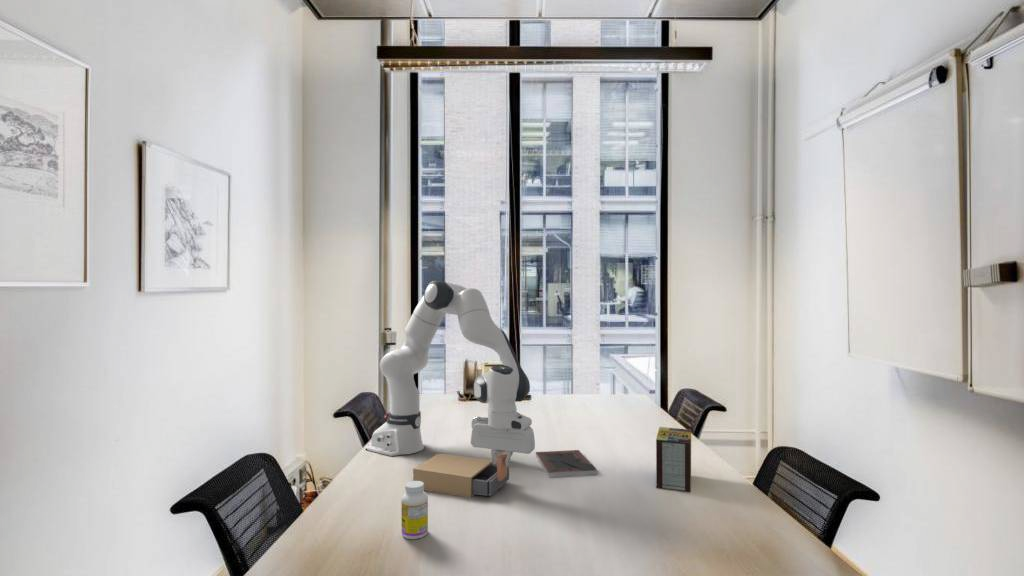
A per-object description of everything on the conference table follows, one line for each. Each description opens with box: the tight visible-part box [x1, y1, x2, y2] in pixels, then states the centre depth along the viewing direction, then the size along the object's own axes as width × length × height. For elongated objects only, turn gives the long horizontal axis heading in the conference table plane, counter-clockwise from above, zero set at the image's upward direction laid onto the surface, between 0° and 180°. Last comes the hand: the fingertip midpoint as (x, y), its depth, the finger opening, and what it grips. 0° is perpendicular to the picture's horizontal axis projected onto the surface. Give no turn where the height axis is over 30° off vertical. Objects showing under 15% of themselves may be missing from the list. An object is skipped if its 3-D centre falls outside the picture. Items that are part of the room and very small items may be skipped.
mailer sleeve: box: [412, 453, 494, 498], centre depth 170 cm, size 20×16×6 cm
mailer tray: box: [472, 453, 510, 497], centre depth 167 cm, size 22×14×10 cm, turn 68°
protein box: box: [655, 426, 692, 493], centre depth 171 cm, size 10×15×16 cm
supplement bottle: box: [400, 480, 429, 540], centre depth 135 cm, size 7×7×13 cm
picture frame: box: [534, 449, 598, 478], centre depth 187 cm, size 16×2×22 cm
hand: (502, 464), depth 163 cm, fingers closed on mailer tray
